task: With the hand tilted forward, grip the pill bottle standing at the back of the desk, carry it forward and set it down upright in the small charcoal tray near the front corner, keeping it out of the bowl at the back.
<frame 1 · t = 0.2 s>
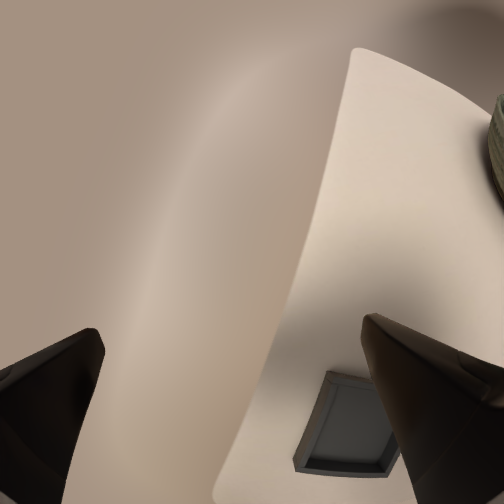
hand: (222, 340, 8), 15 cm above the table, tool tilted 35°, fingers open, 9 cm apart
tray: (356, 425, 19), on the table
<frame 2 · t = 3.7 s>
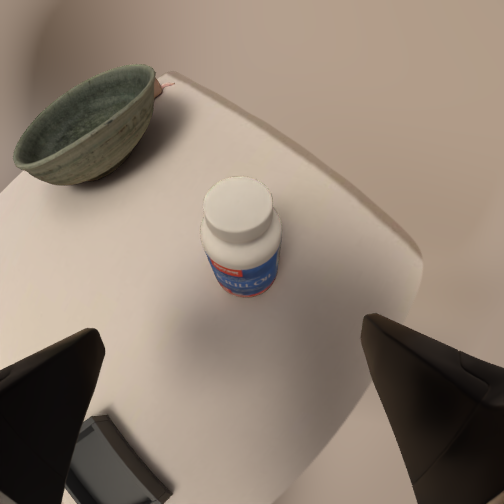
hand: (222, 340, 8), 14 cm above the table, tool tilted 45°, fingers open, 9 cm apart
tray: (107, 474, 15), on the table
bowl: (105, 157, 33), on the table
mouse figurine: (155, 93, 40), on the table
pill bottle: (247, 270, 24), on the table
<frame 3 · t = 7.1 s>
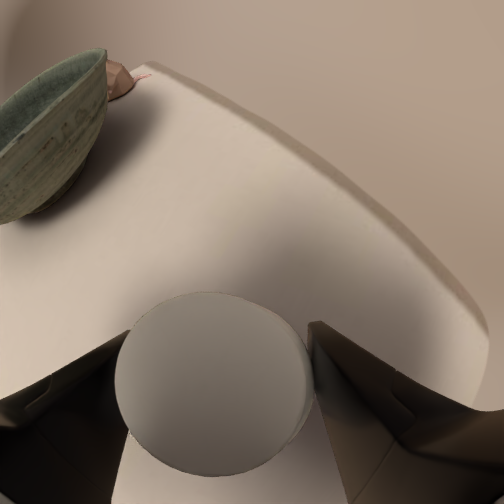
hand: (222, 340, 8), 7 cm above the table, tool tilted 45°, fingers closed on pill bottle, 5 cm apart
bowl: (54, 177, 22), on the table
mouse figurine: (126, 88, 29), on the table
pill bottle: (242, 382, 14), on the table, touching gripper
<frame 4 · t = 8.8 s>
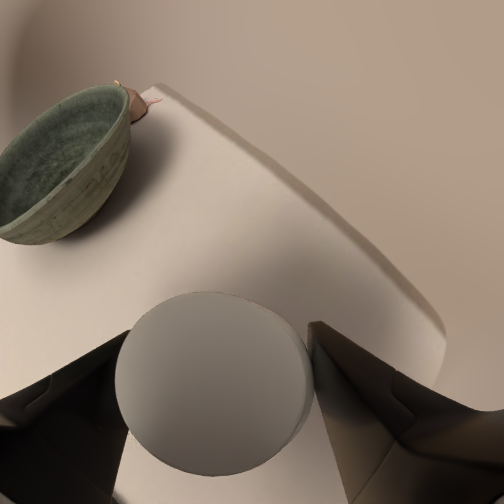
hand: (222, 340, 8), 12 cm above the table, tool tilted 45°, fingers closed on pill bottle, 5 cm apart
bowl: (82, 199, 28), on the table
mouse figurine: (140, 112, 35), on the table
pill bottle: (242, 381, 14), point 6 cm above the table, touching gripper
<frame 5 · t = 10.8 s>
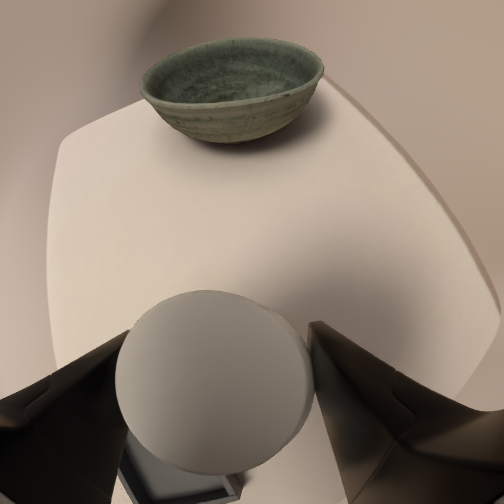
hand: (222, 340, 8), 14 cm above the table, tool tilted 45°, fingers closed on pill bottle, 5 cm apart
tray: (171, 458, 17), on the table
bowl: (237, 124, 34), on the table
pill bottle: (242, 381, 14), point 7 cm above the table, touching gripper
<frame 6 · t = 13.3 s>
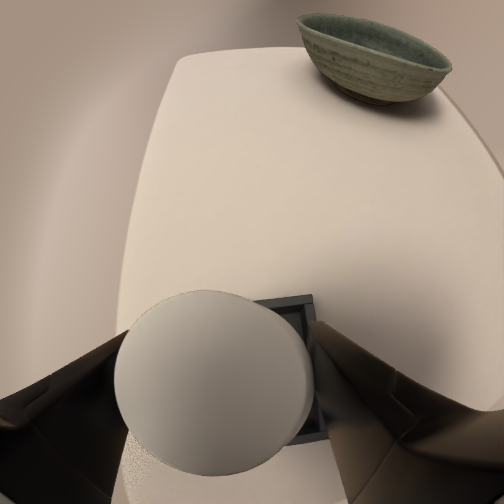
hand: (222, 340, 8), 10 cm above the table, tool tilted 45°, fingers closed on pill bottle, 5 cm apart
tray: (247, 376, 17), on the table
bowl: (365, 90, 31), on the table
pill bottle: (242, 381, 14), point 4 cm above the table, touching gripper
when the fingers open (7 cm above the table, at t = 14.8 s): pill bottle stays where it is, resting on tray.
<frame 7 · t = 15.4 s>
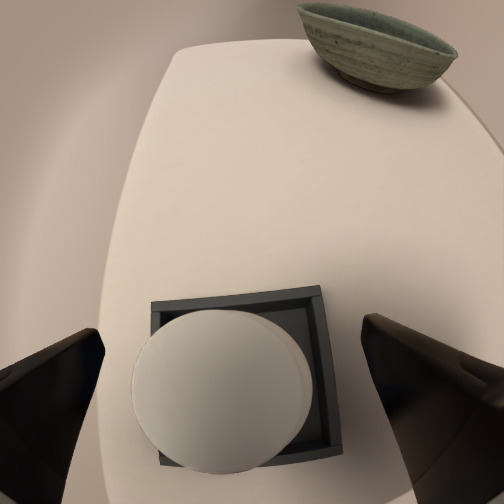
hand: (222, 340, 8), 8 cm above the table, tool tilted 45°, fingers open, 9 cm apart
tray: (244, 382, 14), on the table
bowl: (369, 79, 29), on the table
pill bottle: (244, 385, 14), resting on tray
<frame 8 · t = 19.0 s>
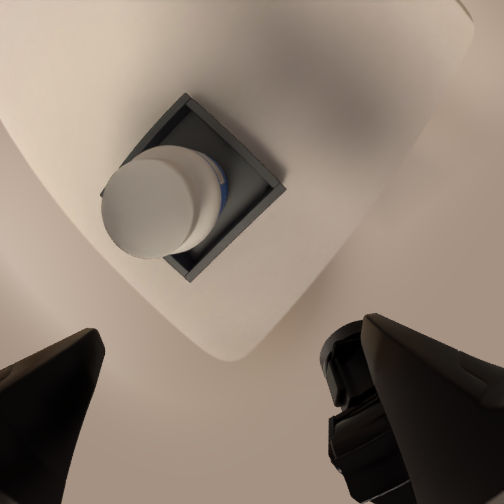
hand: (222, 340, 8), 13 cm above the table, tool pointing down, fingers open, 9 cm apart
tray: (192, 186, 19), on the table
pill bottle: (193, 188, 19), resting on tray
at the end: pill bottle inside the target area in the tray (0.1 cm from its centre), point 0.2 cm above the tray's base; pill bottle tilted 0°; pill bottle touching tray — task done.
